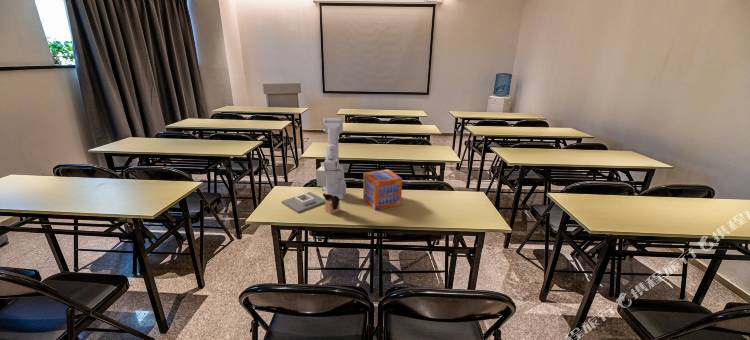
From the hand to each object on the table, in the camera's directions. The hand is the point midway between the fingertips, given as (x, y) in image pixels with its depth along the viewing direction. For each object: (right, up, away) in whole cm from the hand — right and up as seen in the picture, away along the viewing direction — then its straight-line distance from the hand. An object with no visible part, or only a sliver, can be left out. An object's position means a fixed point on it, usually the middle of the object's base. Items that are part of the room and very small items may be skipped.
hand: (332, 207), depth 156 cm
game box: (+25, +1, +12) cm, 28 cm away
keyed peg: (0, -2, +1) cm, 2 cm away
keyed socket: (-16, +2, +9) cm, 19 cm away
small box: (-10, +10, +34) cm, 37 cm away
